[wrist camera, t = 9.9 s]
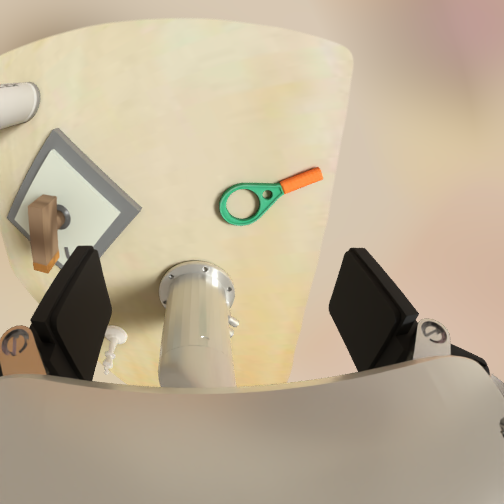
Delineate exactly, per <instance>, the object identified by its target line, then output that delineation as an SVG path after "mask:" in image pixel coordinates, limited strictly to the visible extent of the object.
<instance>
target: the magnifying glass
mask: <svg viewBox="0 0 504 504" xmlns="http://www.w3.org/2000/svg"><path fill="white" fill-rule="evenodd" d="M322 179H323V176H322V173H321V170H320V168H319V167H317V168H314V169H311V170H309V171H306V172H303V173H301V174H298V175H296V176H293V177H290V178H288V179H285V180H283V181H280V182H279V183H274V184H272V183H239V184H236V185H233V186H231V187H230V188H228V189H227V190H226V191H225V192H224V193H223V195H222V197H221V199H220V202H219V209H220V213H221V215H222V217H223V218H224V220H225V221H227V222H228V223H230V224H232V225H238V226H243V225H249V224H251V223H253V222H255V221H257V220H258V219H259V218H260V217H261V216H262V215H263V214H264V213H265V212H266V211H267V210H268V209H269V208H270V207H271V206H272V205H273V204H274V203H275V202H276V201H277V199H278V198H279V197H281V196H282V195H284V194H286V193H289V192H291V191H294V190H297V189H299V188H301V187H304V186H307V185H309V184H312V183H315V182H317V181H320V180H322ZM239 189H248V190H251V191H253V192H254V193H256V195H257V196H258V198H259V208H258V210H257V212H256V213H255V214H254V215H252V216H251V217H249V218H245V219H239V218H235V217H233V216H232V215H231V214H230V213H229V212H228V210H227V208H226V202H227V199H228V197H229V196H230V194H231V193H233V192H234V191H236V190H239ZM265 190H270V191H271V192H272V194H271V196H270V197H269V198H264V197H263V196H262V194H263V192H264V191H265Z"/></svg>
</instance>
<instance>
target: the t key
mask: <svg viewBox="0 0 504 504" xmlns="http://www.w3.org/2000/svg"><path fill="white" fill-rule="evenodd" d="M28 220H29V232H30V241H31V249H32V256H33V266H34V270H37V271H41V272H44V273H49V271H50V270H51V269H52V267H53V266H54V264H55V263H56V262H57V260H58V259H59V257H60V255H59V248H58V232H57V231H58V229H59V228H60V227H61V226H62V225H63V224H64V223H65V216H64V214H63V213H62V212H61V211H59V210H57V197H56V196H50V195H44V194H43V195H41V196H40V197H39V198H37V199H36V200H35V201H33V202H32V203H31V204H30V205H28Z"/></svg>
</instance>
